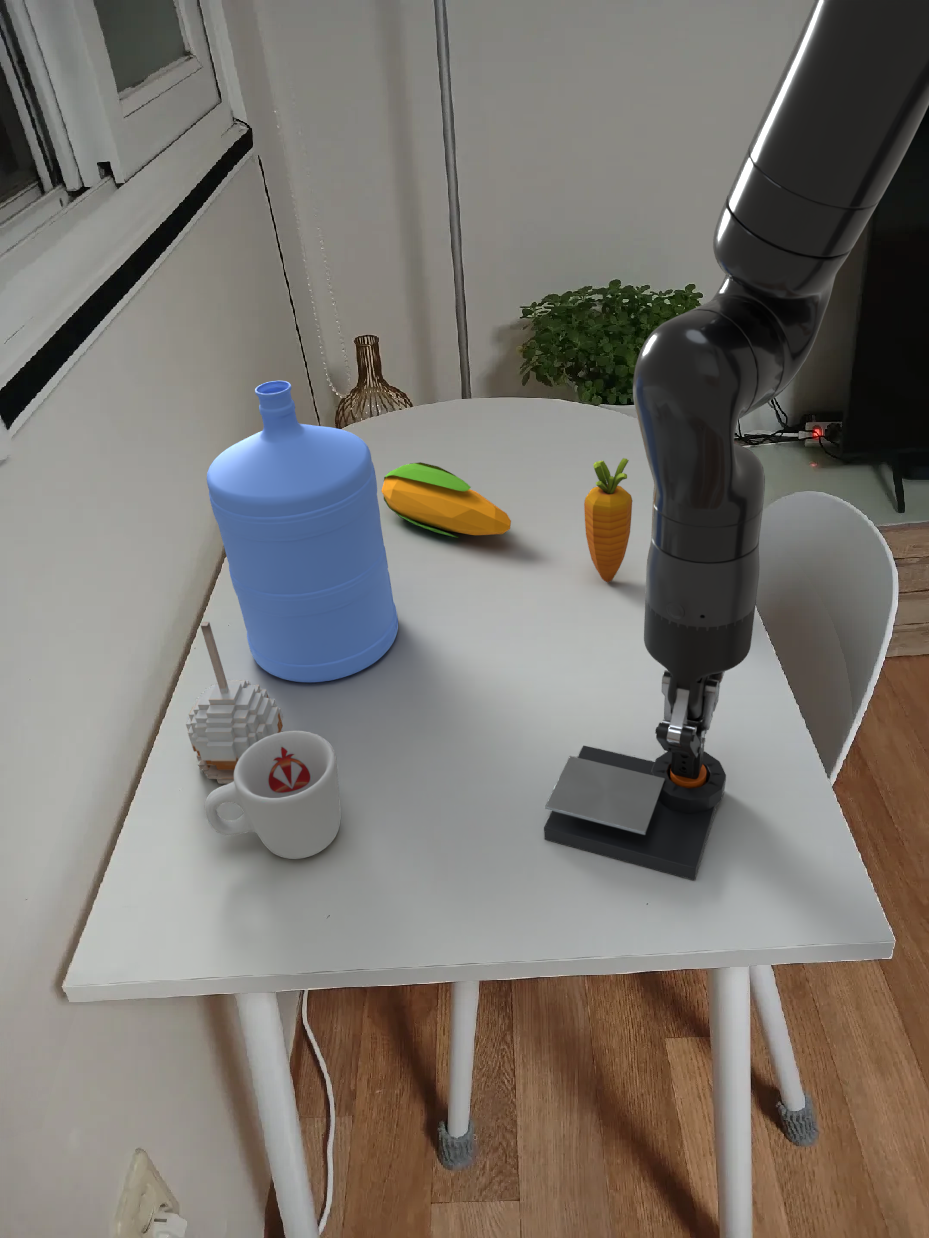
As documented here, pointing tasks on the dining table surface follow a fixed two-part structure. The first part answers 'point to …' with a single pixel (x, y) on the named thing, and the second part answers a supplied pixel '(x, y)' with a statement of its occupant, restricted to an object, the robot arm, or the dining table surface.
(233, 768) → the caramel apple
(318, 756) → the cup
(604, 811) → the plate
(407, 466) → the corn
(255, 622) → the water jug
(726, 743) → the dining table surface
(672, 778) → the button
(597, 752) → the scale
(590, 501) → the carrot
